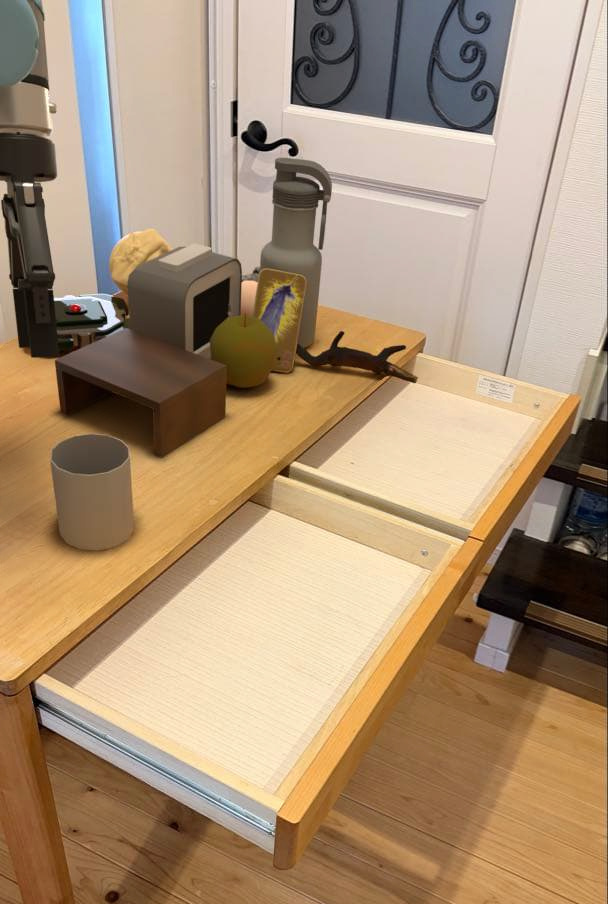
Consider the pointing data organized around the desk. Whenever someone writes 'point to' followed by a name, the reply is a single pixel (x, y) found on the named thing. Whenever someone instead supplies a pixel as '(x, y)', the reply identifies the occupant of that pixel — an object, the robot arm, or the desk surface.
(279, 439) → the desk surface
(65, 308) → the four-lobed dark green device
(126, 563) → the desk surface
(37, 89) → the robot arm
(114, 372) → the shelf
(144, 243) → the tan curved lump
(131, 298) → the alarm clock
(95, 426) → the desk surface
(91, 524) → the cup
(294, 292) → the smartphone
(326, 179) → the water bottle
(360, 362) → the toy
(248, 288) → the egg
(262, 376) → the apple
